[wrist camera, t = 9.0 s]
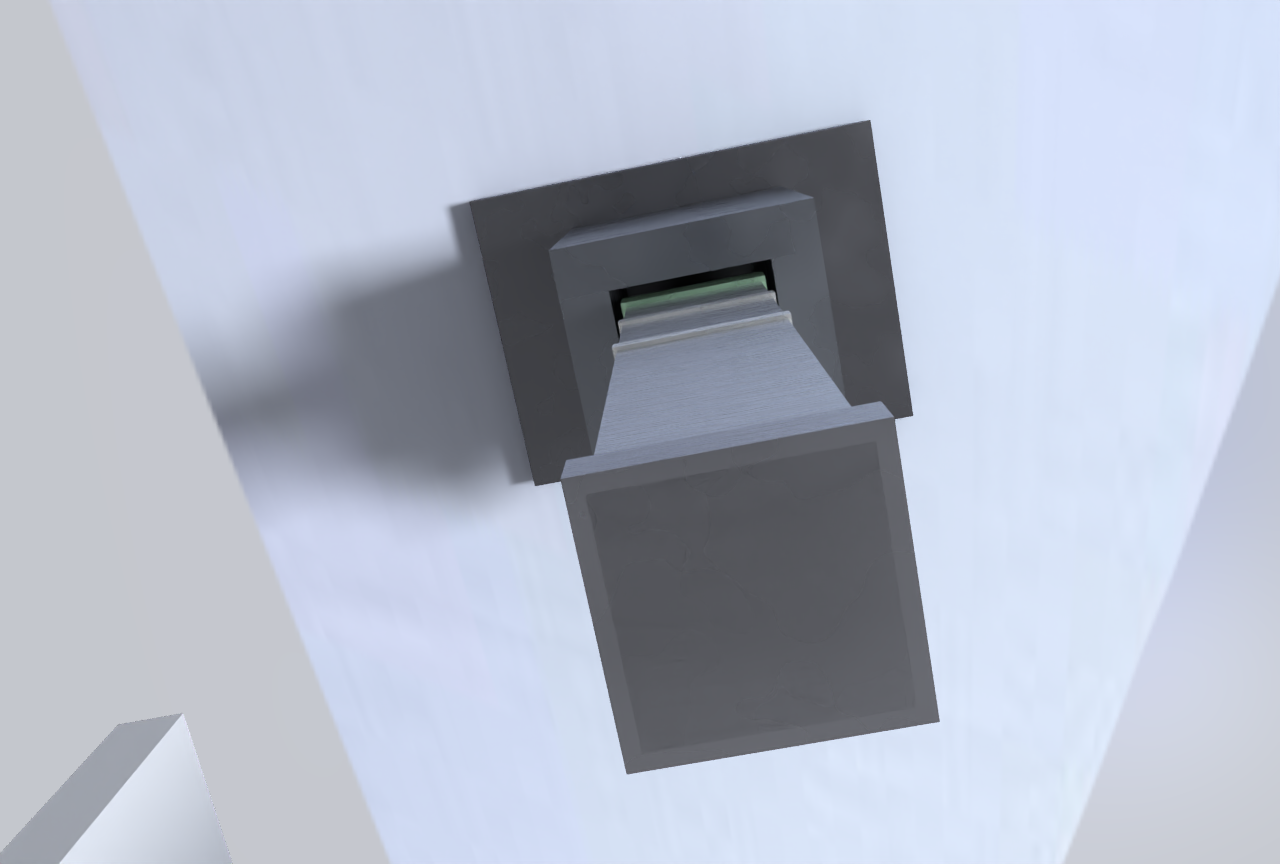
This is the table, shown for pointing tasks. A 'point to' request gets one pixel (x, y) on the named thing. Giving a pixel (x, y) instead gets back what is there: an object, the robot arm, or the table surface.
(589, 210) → the stand
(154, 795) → the robot arm
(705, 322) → the column
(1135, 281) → the table surface
